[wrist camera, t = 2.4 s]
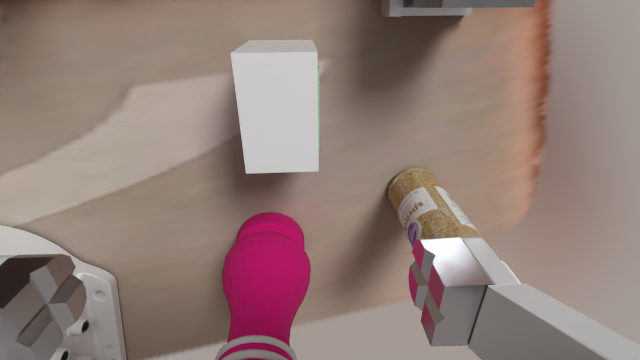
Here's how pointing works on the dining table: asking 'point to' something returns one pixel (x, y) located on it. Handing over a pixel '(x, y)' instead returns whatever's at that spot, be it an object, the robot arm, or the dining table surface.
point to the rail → (398, 12)
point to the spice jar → (428, 208)
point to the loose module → (278, 105)
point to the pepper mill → (264, 288)
